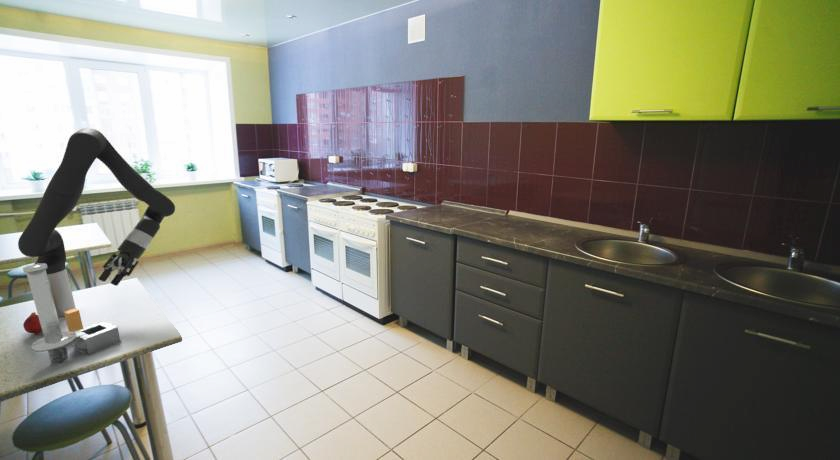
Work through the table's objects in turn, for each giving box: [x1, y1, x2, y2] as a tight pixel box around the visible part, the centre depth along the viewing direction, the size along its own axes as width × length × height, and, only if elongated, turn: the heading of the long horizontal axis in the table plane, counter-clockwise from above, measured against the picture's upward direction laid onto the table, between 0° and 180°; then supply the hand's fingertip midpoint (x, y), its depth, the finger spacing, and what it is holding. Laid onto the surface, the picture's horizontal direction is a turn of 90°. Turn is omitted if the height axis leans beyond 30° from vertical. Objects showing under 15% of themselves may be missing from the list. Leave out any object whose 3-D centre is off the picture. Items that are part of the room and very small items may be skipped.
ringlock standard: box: [22, 263, 121, 365], centre depth 121 cm, size 10×20×30 cm, turn 152°
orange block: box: [64, 308, 84, 332], centre depth 134 cm, size 3×3×9 cm
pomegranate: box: [23, 311, 43, 335], centre depth 135 cm, size 6×6×8 cm
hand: (107, 282), depth 142 cm, fingers open, 8 cm apart
